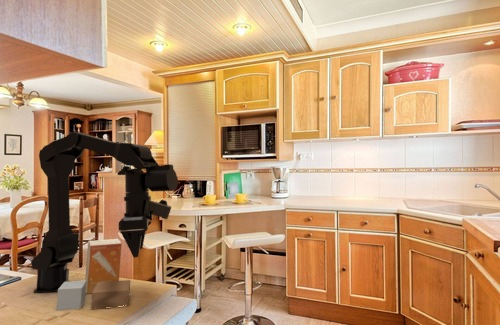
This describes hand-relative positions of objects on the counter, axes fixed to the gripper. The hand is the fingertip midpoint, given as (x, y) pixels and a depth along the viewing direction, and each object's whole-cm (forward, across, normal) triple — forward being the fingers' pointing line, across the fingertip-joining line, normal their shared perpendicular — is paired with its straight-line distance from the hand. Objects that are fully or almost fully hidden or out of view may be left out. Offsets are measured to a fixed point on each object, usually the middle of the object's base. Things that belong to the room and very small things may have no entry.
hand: (138, 252), depth 76 cm
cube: (+12, +1, +16) cm, 20 cm away
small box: (+12, +11, +11) cm, 20 cm away
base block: (+12, +2, +7) cm, 14 cm away
